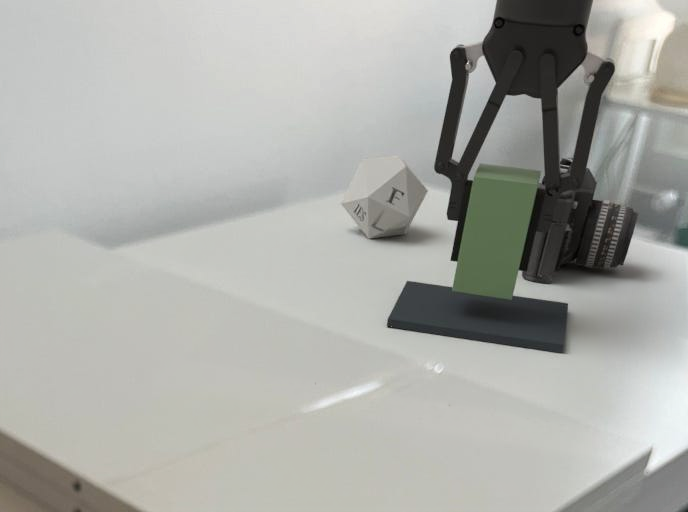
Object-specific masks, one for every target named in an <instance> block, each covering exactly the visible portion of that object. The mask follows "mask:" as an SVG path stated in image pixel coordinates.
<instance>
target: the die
mask: <svg viewBox="0 0 688 512" xmlns="http://www.w3.org/2000/svg"><path fill="white" fill-rule="evenodd" d="M356 169H357V170H356V171H355V174H354V175H353V178H352V179H351V182H350V184H349V186H348V188H347V190H346V192H345V194H344V196H343V198H342V200H341V201H340V205H341V206H342V207H343V209H344V210H345V211H346V212H347V213H348V215H349V216H350V217H351V219H352V220H353V221H354V222H355V223H356V225H357V226H358V227H359V228H360V230H361V231H362V232H363V234H364V235H365V237H367V238H368V240H369V239H370V240H371V239H378V238H386V237H387V238H388V237H394V236H401V235H402V236H403V235H406V233H407V232H408V230H409V228H410V226H411V225H412V223H413V221H414V218H415V217H416V214H417V213H418V211H419V209H420V207H421V206H422V203H423V201H424V200H425V198H426V196H427V194H428V192H429V190H428V189H427V188H426V186H425V185H424V184H423V182H421V180H420V178H419V177H418V176H417V175H416V173H414V171H413V170H412V169H411V167H410V166H409V165H408V164H407V163H406V161H405V160H404V159H403V158H402V156H401V155H390V156H377V157H369V158H368V157H366V158H362V159H361V160H360V163H359V164H358V167H357V168H356Z"/></svg>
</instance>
